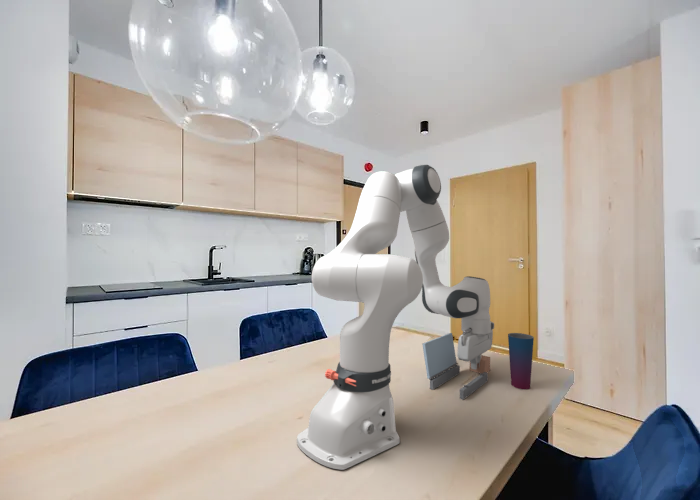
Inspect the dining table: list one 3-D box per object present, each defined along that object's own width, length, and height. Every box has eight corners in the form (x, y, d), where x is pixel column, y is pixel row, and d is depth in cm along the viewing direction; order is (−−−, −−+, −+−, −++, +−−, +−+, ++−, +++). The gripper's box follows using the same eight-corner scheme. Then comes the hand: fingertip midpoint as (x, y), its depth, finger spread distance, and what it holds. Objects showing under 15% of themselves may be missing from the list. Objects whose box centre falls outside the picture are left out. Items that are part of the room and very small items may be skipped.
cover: (425, 343, 93) (420, 343, 94) (430, 379, 92) (426, 379, 93) (452, 333, 107) (448, 332, 108) (457, 364, 105) (453, 364, 106)
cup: (508, 379, 100) (508, 331, 100) (533, 384, 96) (533, 334, 96) (507, 387, 94) (507, 336, 94) (533, 392, 90) (533, 339, 91)
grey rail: (463, 399, 85) (463, 389, 85) (429, 388, 92) (429, 379, 92) (487, 380, 99) (487, 371, 99) (456, 372, 105) (456, 363, 105)
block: (484, 374, 104) (484, 360, 104) (469, 370, 107) (469, 357, 107) (490, 370, 108) (490, 357, 108) (475, 366, 111) (475, 353, 111)
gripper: (472, 333, 95) (472, 379, 94) (496, 322, 110) (496, 363, 109) (452, 329, 99) (452, 374, 99) (477, 320, 114) (477, 358, 114)
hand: (475, 368), depth 104 cm, fingers closed
